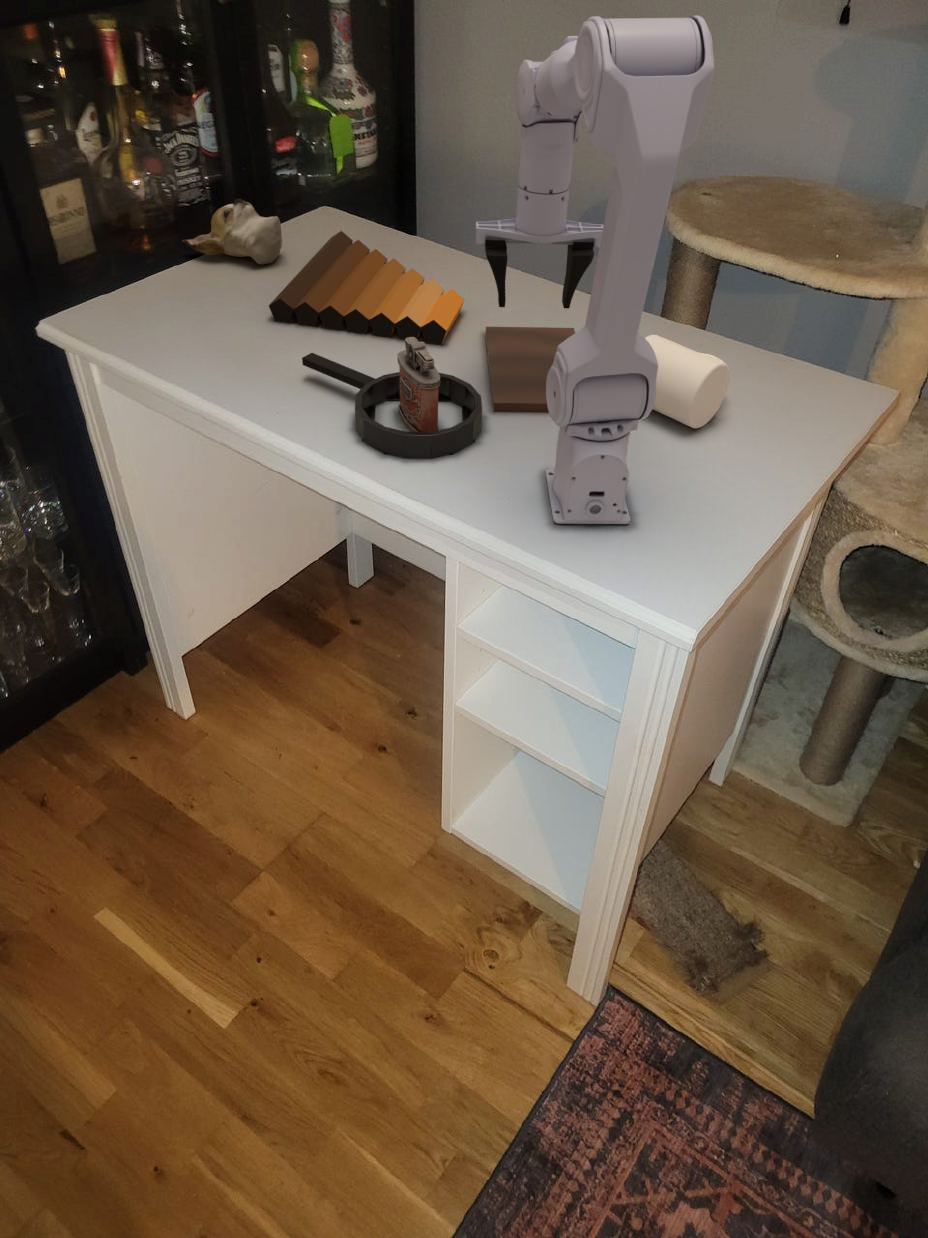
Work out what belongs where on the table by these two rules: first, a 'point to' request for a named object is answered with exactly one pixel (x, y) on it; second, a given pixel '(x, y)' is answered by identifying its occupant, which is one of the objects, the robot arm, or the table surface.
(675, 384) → the mug
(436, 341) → the pan flute
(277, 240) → the ceramic sculpture
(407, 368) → the lighter
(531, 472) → the table surface
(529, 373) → the board
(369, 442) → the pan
